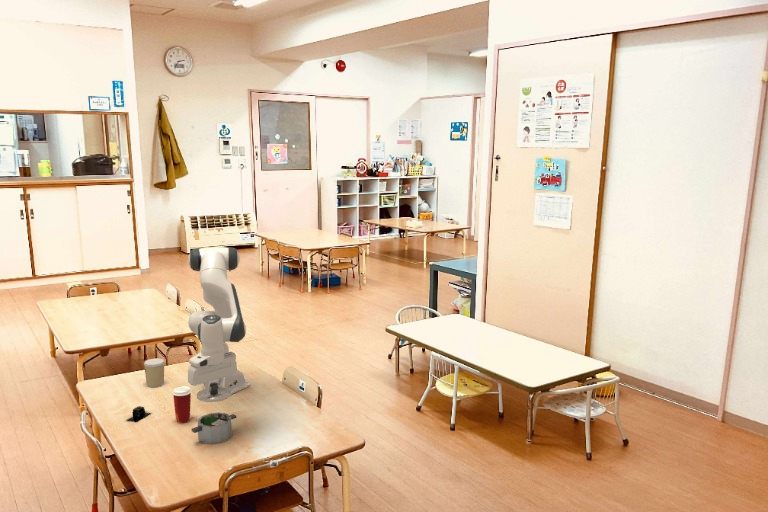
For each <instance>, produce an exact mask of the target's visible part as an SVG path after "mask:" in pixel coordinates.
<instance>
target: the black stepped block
mask: <svg viewBox="0 0 768 512" xmlns="http://www.w3.org/2000/svg"><path fill="white" fill-rule="evenodd" d="M131 414H132V416H131V417H129V418H128V419H125V420H126V421H127V422H132V423H139V422H140V421H141V420H143V419H145V418H147V417H149V416H150V415H152V413H150V412H146V409H145V406H140V405H139V406H136V407H134V408H133V409H132V413H131Z"/></svg>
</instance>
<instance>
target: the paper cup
mask: <svg viewBox="0 0 768 512" xmlns="http://www.w3.org/2000/svg"><path fill="white" fill-rule="evenodd" d="M171 394H172V396H173V397H172V398H173V406H174V413H175V422H176V423H177V424H185V423H188V422H189V421H190V420H191V402H192V401H191V399H192V397H191V396H192V395H191V394H192V389H191V387H190V386H183V385H182V386H178V387H175V388H173V391H172V392H171Z"/></svg>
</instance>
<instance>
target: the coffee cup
mask: <svg viewBox="0 0 768 512" xmlns="http://www.w3.org/2000/svg"><path fill="white" fill-rule="evenodd" d="M165 362H166V361H165V360H164V359H163V358H160V357H158V358H155V357H154V358H149V359H146V360H144V362H143V367H144V373H145V382H146V387H147V388H151V389H156V388H160V387H162V386H164V385H165V384H164V382H165V364H166V363H165Z"/></svg>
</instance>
